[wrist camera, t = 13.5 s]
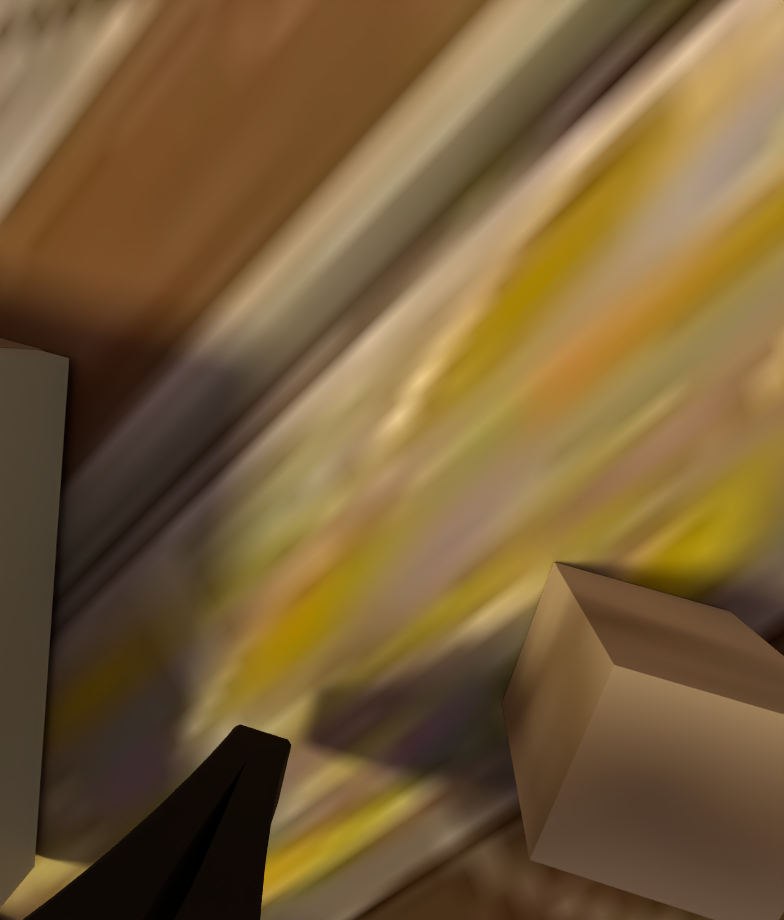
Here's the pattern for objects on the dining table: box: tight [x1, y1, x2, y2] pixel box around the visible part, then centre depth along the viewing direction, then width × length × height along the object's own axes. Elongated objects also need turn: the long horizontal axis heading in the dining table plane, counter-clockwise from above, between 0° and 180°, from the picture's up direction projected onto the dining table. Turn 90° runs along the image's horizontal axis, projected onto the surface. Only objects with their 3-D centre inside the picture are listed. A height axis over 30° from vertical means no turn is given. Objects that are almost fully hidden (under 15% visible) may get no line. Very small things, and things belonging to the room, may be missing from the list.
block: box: [502, 562, 784, 920], centre depth 8 cm, size 4×4×4 cm
